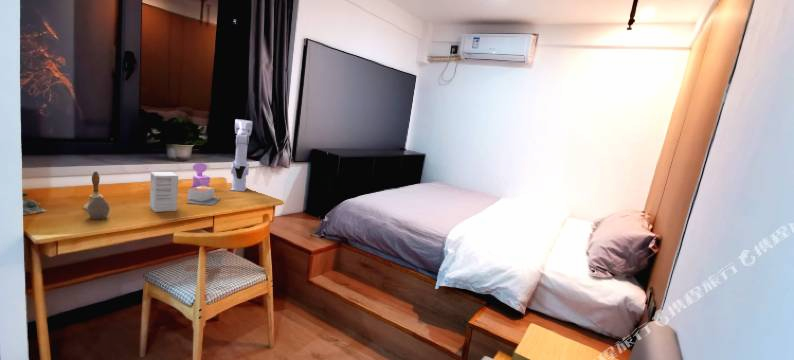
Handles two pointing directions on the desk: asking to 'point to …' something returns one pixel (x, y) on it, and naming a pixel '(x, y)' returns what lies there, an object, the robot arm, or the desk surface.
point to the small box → (200, 193)
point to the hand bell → (95, 183)
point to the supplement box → (163, 191)
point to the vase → (98, 208)
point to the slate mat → (204, 202)
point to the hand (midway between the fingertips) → (239, 178)
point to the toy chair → (200, 176)
